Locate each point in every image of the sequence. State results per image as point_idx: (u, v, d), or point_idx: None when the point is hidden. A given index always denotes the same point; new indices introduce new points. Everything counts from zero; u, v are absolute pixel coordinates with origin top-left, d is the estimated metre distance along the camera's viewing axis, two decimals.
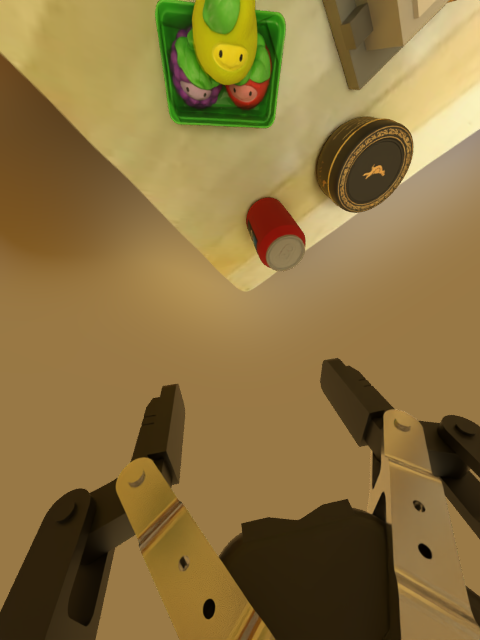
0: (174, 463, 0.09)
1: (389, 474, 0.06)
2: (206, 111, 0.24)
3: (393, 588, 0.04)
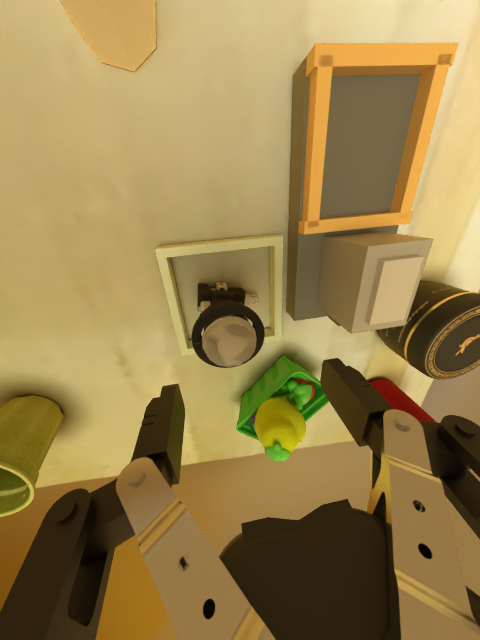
0: (174, 463, 0.09)
1: (389, 474, 0.06)
2: None
3: (393, 588, 0.04)
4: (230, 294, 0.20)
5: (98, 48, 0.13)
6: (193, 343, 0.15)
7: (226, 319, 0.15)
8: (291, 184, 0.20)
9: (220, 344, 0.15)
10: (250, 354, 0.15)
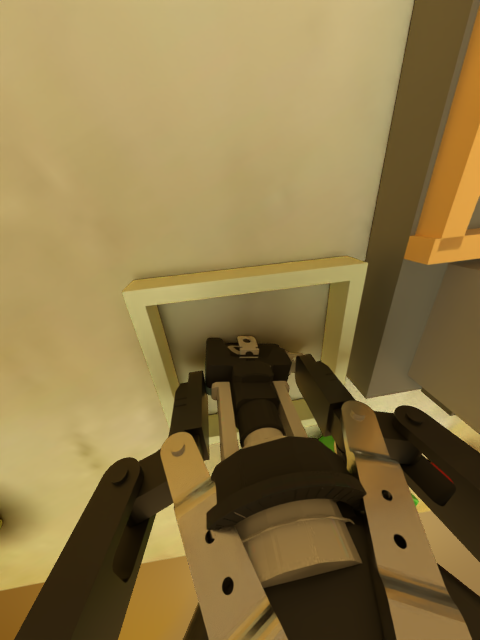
0: (206, 440, 0.09)
1: (357, 469, 0.06)
2: None
3: (381, 592, 0.04)
4: (268, 372, 0.11)
5: None
6: None
7: (293, 523, 0.05)
8: (390, 164, 0.10)
9: None
10: None
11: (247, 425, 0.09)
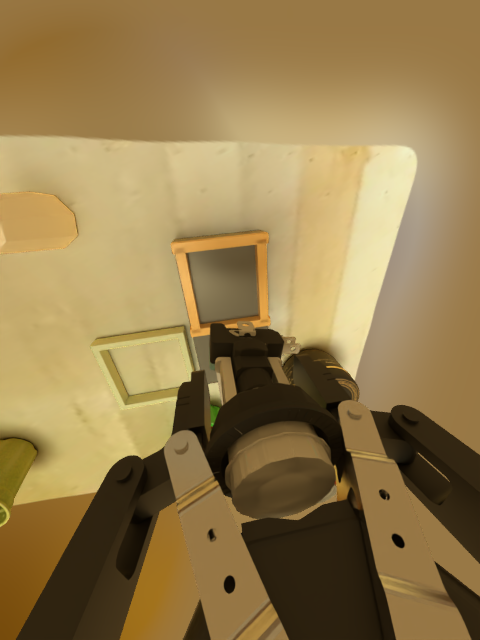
0: (208, 439, 0.09)
1: (354, 469, 0.06)
2: None
3: (380, 593, 0.04)
4: (263, 347, 0.13)
5: None
6: None
7: (277, 436, 0.07)
8: None
9: (265, 490, 0.07)
10: (321, 497, 0.08)
11: (245, 386, 0.11)
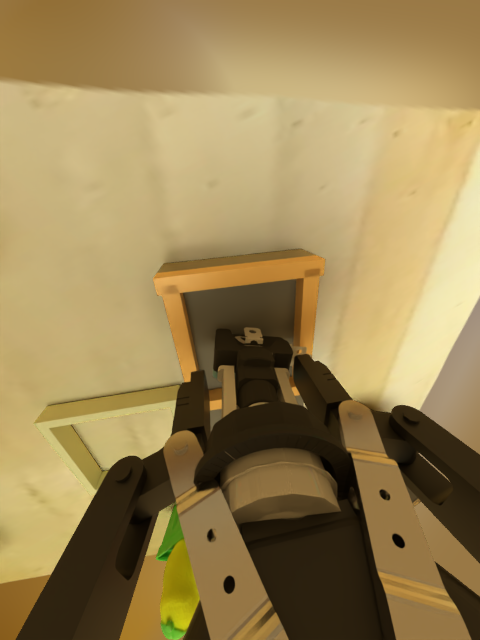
0: None
1: (355, 469, 0.06)
2: None
3: (380, 593, 0.04)
4: (269, 357, 0.12)
5: None
6: None
7: (274, 466, 0.06)
8: None
9: None
10: None
11: (246, 400, 0.10)
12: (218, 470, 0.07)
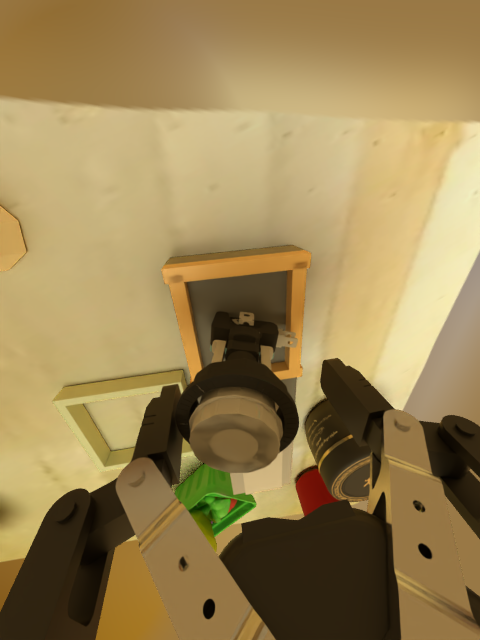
0: (174, 463, 0.09)
1: (389, 474, 0.06)
2: None
3: (393, 588, 0.04)
4: (255, 335, 0.14)
5: None
6: (177, 423, 0.10)
7: (231, 398, 0.08)
8: None
9: (216, 440, 0.08)
10: (269, 461, 0.09)
11: None
12: (193, 401, 0.09)
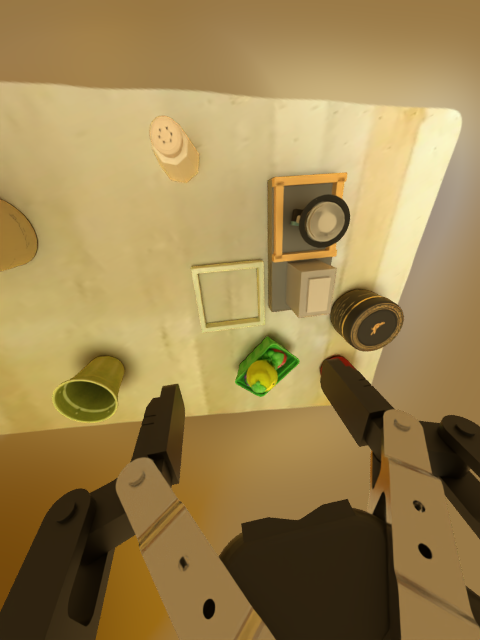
0: (174, 463, 0.09)
1: (389, 474, 0.06)
2: None
3: (393, 588, 0.04)
4: None
5: (172, 178, 0.29)
6: (300, 223, 0.24)
7: (326, 204, 0.23)
8: (268, 233, 0.34)
9: (320, 220, 0.23)
10: (338, 231, 0.23)
11: None
12: (309, 209, 0.23)
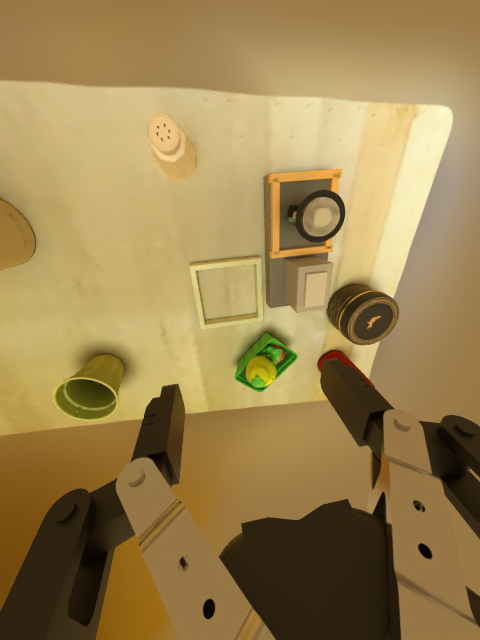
0: (174, 463, 0.09)
1: (389, 474, 0.06)
2: None
3: (393, 588, 0.04)
4: None
5: (169, 175, 0.29)
6: (296, 218, 0.24)
7: (322, 199, 0.23)
8: (265, 229, 0.35)
9: (316, 215, 0.23)
10: (334, 226, 0.24)
11: None
12: (305, 205, 0.24)
